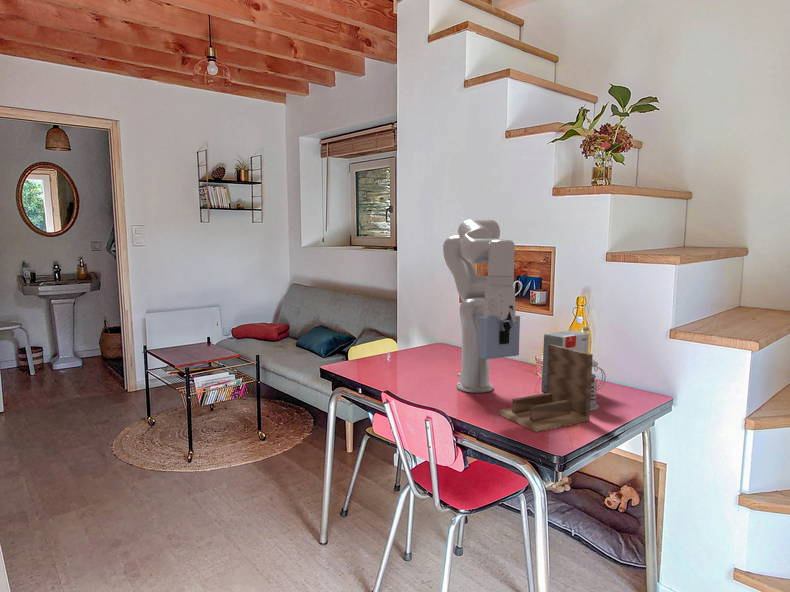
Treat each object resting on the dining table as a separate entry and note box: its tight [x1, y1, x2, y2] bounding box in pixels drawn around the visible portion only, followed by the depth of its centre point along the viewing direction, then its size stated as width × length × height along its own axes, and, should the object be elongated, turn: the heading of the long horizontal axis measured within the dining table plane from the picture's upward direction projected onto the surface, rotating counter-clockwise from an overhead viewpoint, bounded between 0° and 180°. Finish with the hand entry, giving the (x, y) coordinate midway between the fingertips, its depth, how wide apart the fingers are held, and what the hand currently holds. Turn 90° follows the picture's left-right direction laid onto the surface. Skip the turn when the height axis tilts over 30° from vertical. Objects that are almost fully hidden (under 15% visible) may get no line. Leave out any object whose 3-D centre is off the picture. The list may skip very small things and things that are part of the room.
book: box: [479, 314, 521, 360], centre depth 160 cm, size 4×12×12 cm, turn 117°
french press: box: [582, 326, 607, 411], centre depth 167 cm, size 10×12×25 cm
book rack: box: [498, 344, 593, 433], centre depth 155 cm, size 16×20×20 cm
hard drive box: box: [540, 330, 590, 393], centre depth 183 cm, size 16×8×20 cm, turn 126°
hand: (499, 341), depth 160 cm, fingers closed on book, 4 cm apart
